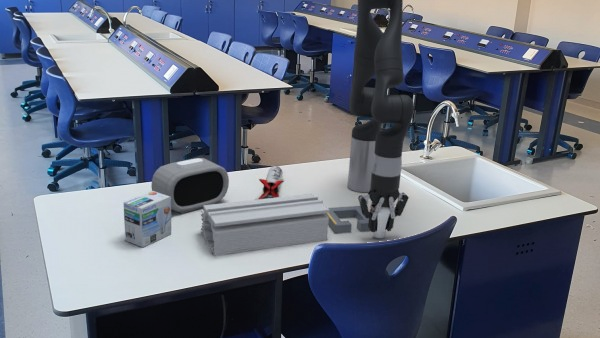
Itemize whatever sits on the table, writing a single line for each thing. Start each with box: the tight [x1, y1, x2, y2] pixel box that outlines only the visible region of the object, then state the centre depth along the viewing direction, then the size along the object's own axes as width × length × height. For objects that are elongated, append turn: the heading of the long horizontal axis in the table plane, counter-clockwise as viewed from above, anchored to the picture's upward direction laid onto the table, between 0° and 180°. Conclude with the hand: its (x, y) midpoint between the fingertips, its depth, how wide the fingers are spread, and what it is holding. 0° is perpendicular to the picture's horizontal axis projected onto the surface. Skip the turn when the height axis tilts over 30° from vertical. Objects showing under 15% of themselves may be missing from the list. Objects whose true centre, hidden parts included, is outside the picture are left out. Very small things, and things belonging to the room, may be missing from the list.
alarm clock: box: [151, 157, 230, 214], centre depth 176 cm, size 21×10×13 cm, turn 131°
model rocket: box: [258, 165, 285, 199], centre depth 193 cm, size 11×23×10 cm
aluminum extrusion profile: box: [200, 193, 329, 257], centre depth 159 cm, size 14×31×10 cm, turn 113°
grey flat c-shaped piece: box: [324, 205, 371, 234], centre depth 171 cm, size 12×12×3 cm
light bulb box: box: [123, 190, 172, 248], centre depth 155 cm, size 11×7×11 cm, turn 148°
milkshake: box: [372, 203, 396, 239], centre depth 161 cm, size 5×5×10 cm
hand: (380, 230), depth 162 cm, fingers closed on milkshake, 4 cm apart
